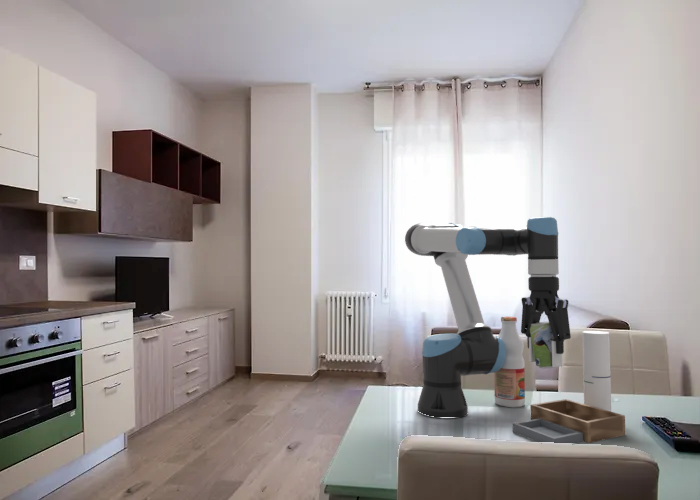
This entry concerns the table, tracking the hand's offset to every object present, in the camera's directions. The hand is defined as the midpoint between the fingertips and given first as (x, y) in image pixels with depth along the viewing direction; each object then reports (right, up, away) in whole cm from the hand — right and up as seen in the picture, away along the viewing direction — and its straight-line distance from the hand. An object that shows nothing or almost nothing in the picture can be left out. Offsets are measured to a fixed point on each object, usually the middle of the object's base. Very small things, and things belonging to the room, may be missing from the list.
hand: (545, 363), depth 131 cm
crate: (+11, -19, +6) cm, 23 cm away
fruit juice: (+1, -20, +31) cm, 37 cm away
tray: (0, -19, -1) cm, 19 cm away
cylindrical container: (+21, -19, +15) cm, 32 cm away
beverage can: (0, -1, 0) cm, 1 cm away
